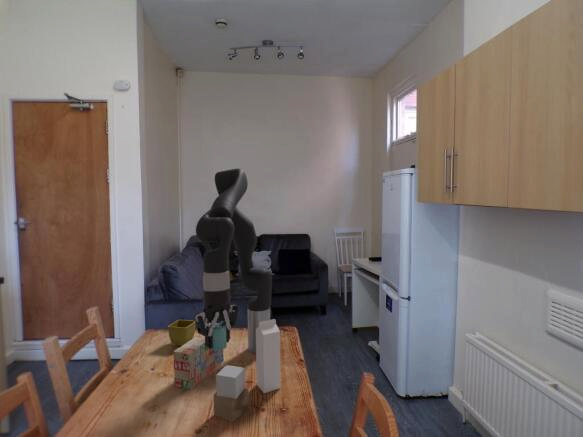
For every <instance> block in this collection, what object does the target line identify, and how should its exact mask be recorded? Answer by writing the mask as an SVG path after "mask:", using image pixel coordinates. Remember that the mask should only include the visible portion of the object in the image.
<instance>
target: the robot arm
mask: <svg viewBox="0 0 583 437" xmlns="http://www.w3.org/2000/svg"><path fill="white" fill-rule="evenodd" d="M214 185H215V188H216V191H217V194H218V195H217V197H216V198H215V199H214V201H213V202H212V205H211V207H210V209H209V210H208V211H206V212H205V213H204V214H203V215H202V216H201V217H200V218H199V219H198V221H197V223H196V225H195V234H196V237H197V238H198V239H199V241H201V242H204V243H220V246H219V247H218V248H214V249H211V250H210V249H209V250H207V251H205V252H204V253H203V258H202V261H203V277H202V291H203V292H202V293H203V295H202V297H203V306H204V307H203V310H202V312H201V313H199V314H193V320H194V321H195V323H196V327H195V328H196V330H197V333H198V335H200V336H203V337H204V338H205V346H207V348H209V349H211V348H213V336H212V332H213V329H214V328H215V325H216V324H217V323H219V322H221V323H222V324H225V325H226V339H227V343H229V342H230V340H231V329H232V327H235V326H236V325H237V318H238V312H239V306H238V305H236V304H233V303H232V304H230V301H231V280H230V279H231V278H230V267H229V265H230V264H229V260H230V259H229V256H230V254H229V253H230V248H231V244H232V242H233V245H234V248H235V251H236V252H235V253H236V256H237V260H238V264H239V269H240V276H241V281H242V284H243V287H244V289H245V290H247V291H250V292H257V296H256V297H255V298H251V299H249V300H248V302H247V346H248V347H247V350H248V352H249V353H252V354H255V355H256V329H257V328H258V327H259V323H260V322H263V321H268V320H271V302H272V292H273V291H272V287H273V278H272V273H271V272H270V270H268V269H263V268H256V267H255V266H254V262H253V254H254V251H255V249H256V246H257V243H258V237H257V233H256V229H255V225H254V223H253V221H252V220H251V219H250V218H249V217H248V216H247V215H246V214H244V212H242V211H241V210H240V209H239V208H238V206H237V205H238V204H239V203H240V201H241V200H242V198H243V197H244V195H245V194H246V192H247V189H248V176H247V173H246V171H244V170H243V169H242V168H232V169H227V170H221V171H217V172H216V173H215V174H214Z"/></svg>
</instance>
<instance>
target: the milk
mask: <svg viewBox="0 0 583 437" xmlns="http://www.w3.org/2000/svg"><path fill="white" fill-rule="evenodd" d="M276 320H277V319H275V318H273V319H270V320H268V321H263V322H260V323H259V327H258V328H257V329H256V354H255V357H256V358H255V359H256V360H255V362H256V363H255V364H256V365H255V366H256V368H255V369H256V371H255V374H256V386H257V387H258V388H259V389H260V390H261V391H262V393H263V394H266V393H269V392H273V391H276V390H278V389H281V388H282V386H281V385H282V384H281V331H280V329H279V326H278V325H277V321H276Z"/></svg>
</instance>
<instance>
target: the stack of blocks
mask: <svg viewBox="0 0 583 437" xmlns="http://www.w3.org/2000/svg"><path fill="white" fill-rule="evenodd" d="M223 362H224V349H222V350H217V351H214V350H210V349H209V348H207V346H205V337H204V338H203V337H196V336H195V337H193V338H192V340H190V341H189V342H187V343H186V344H184V345H183V346H179V347H177V348H176V349H175V350H173V373H174V374H173V376H174V379H173V380H174V388H180V389H186V390H189V391H191V390H192V389H193V388H194V387H195V386H197V385H198V384H199V383H201V382H202V380H204V379H205V378H206V377H207V376H208V375H209V374H210V373H212V371H213V370H215V369H216V368H218V366H220V365H221V364H222V363H223Z"/></svg>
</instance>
